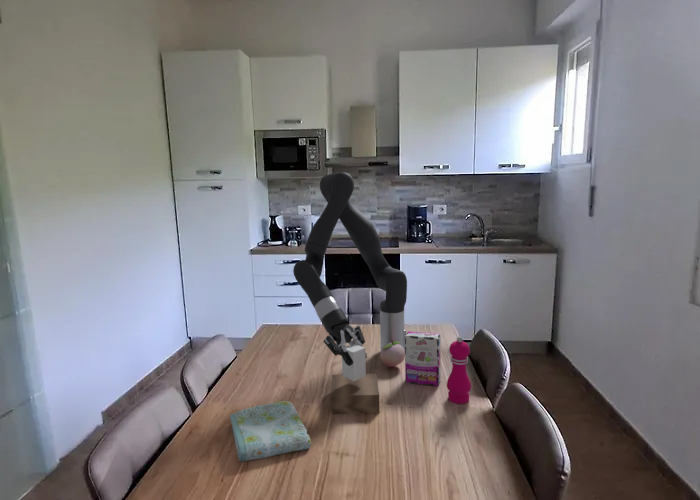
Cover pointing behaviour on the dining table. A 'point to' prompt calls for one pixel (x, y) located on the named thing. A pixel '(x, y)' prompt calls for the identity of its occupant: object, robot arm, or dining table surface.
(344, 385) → the walnut block
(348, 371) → the pale grey block
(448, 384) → the pepper mill
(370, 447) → the dining table surface
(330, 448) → the dining table surface
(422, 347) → the candy bar box
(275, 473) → the dining table surface
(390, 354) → the decorative fruit
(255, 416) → the towel
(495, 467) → the dining table surface
